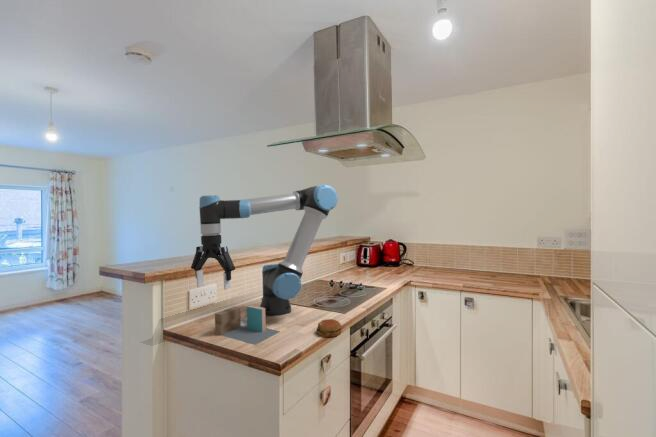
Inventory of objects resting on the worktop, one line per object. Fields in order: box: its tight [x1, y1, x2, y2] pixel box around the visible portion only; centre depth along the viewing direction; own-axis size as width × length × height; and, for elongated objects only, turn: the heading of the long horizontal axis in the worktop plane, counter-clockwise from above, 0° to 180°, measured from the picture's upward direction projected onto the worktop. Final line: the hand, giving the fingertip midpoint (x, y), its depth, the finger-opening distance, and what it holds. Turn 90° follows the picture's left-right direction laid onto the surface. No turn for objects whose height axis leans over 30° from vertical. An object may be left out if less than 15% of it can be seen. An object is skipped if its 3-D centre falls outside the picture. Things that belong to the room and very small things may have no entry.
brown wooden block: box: [214, 306, 247, 336], centre depth 128 cm, size 18×6×8 cm, turn 150°
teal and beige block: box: [246, 304, 267, 332], centre depth 125 cm, size 2×8×9 cm, turn 60°
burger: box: [316, 318, 343, 338], centre depth 122 cm, size 10×9×5 cm
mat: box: [214, 326, 281, 345], centre depth 122 cm, size 22×14×1 cm, turn 60°
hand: (213, 287), depth 123 cm, fingers open, 13 cm apart
